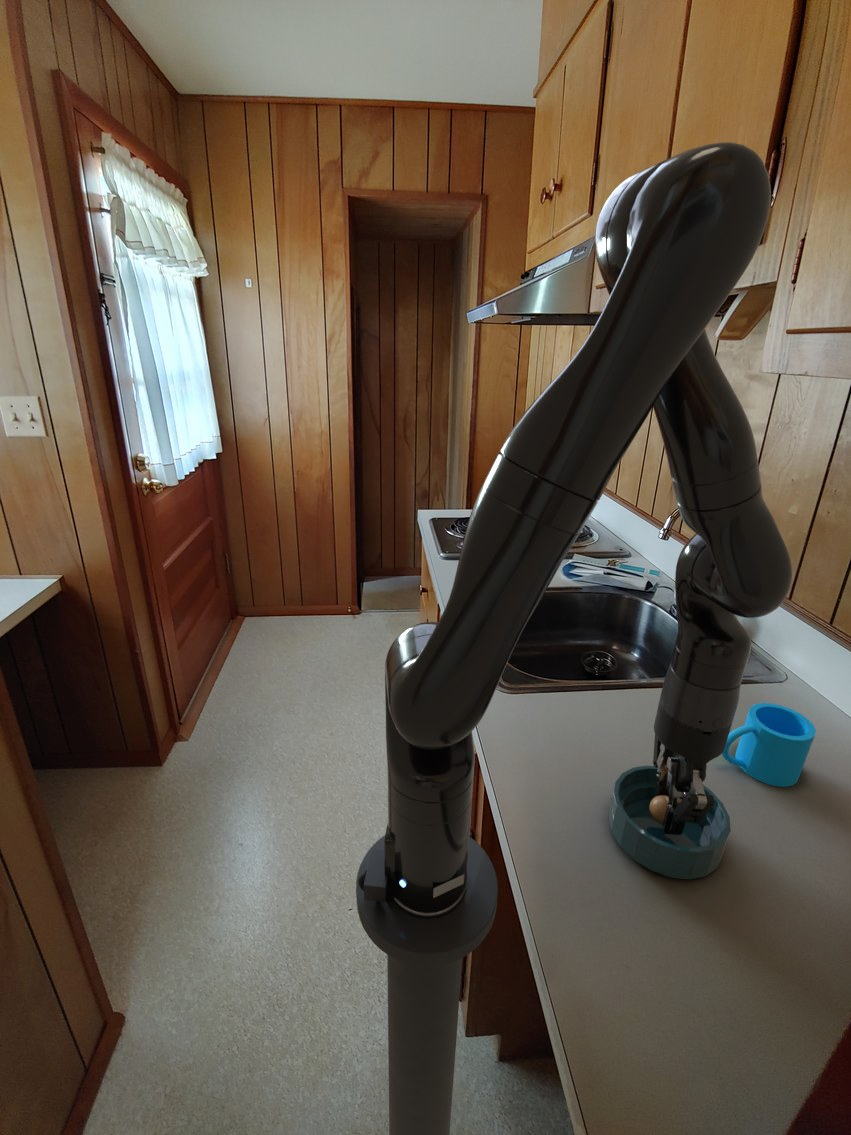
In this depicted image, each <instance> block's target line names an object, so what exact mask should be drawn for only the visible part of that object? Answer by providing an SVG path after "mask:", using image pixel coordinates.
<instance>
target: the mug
mask: <svg viewBox="0 0 851 1135" xmlns="http://www.w3.org/2000/svg"><path fill="white" fill-rule="evenodd" d="M816 733H817V730H816V728H815V725H814V724H813V723H812V721H811V720H810V719H808V718H807V717H806V716H804V715H803V714H802V713H800V712H798V711H796V710H794V709H792V708H790V707H787V706H783V705H780V704H776V703H771V702H760V703H755V704H753V705H752V706H750V708H749V710H748V712H747V716H746V719H745V722H744V725H743V726H739V727H737V728H735V729H733V730H732V731H730V732H729V736H728V739H727V742H726V746H725V749H724V751H723V753H722V754H721V755H722V757H723V759H724V760H726V761H727V762H728V763H730V764H732V765H735V766H738V767H739V768H741V770H743V772H745V773H746V774H747V775H749V776H750V777H751V778H753V779H755V780H757V781H759V782H761V783H764V784H766V785H770V786H772V787H773V786H774V787H780V788H781V787H784V788H787V787H791V786H794V785H796V784H797V783H798V781H799V779H800V776H801V774H802V771H803V769H804V766H805V762H806V760H807V757H808V755H809V753H810V750H811V746H812V744H813V741H814V739H815V736H816ZM737 739H739V742H738V745H737V748H736V752H735V754H734V756H735V757H733V756H731V754H730V752H729V749H730V747H731V745H732V744H733V742H735V741H736V740H737Z"/></svg>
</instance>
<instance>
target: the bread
mask: <svg viewBox="0 0 851 1135" xmlns="http://www.w3.org/2000/svg"><path fill="white" fill-rule="evenodd" d="M668 800H669V796H665V795H660V796H656V797H655V798H653V799H652V801H651V802H650V805H649V810H650V814H651V816H652V818H653V819H654V820H655V821H656V822H658V823H659V824H663V821H664V817H665V813H666V809H667V806H668ZM681 801H682V799H680V798H677V802H681ZM685 823H686V822H685Z"/></svg>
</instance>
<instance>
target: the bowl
mask: <svg viewBox="0 0 851 1135" xmlns="http://www.w3.org/2000/svg"><path fill="white" fill-rule="evenodd" d="M657 770H658V768H657V767H654V765H640V766H634V767H631V768H629V769H627V770H625V771H623V772H622V773H621V774H620V775H619V777H618V778H617V779H616V780H615V782H614V786H613V791H612V796H611V800H610V805H609V811H608V817H607V819H608V825H609V828H610V832H611V834H612V836H613V837H614V839H615V841H616V842H617V844H618V845H619V847H620V848H621V849H622V850H623V851H624V852H625V853H627V855H629V857H631V859H633V860H634V861H635V862H637V863H638V864H640V865H642V867H644V868H647V870H650V871H651V872H654V873H657V874H660V875H662V876H666V877H669V878H672V879H683V880H694V879H697V878H699V879H700V878H703V877H707V876H708V875H709V874H711V873H712V872H714V871H715V870H716V869H718V868H719V865H720V863H721V861H722V858H723V856H724V852H725V850H726V848H727V843H728V840H729V837H730V834H731V830H732V829H731V818H730V815H729V813H728V810H727V809H726V807H725V805H724V803H723V802H722V801H721V800H720V799H719V797H718V796H717V795H716V794H715V792H713V791H712V790H711V789H710V788H709V787H707V786H705V785H704V784H703V788H704V792H705V794H709V795H713V797H714V806H713V807H712V808H711V810H710V811H709V812H708V813H707V814H706V815H705V816H704V818H703V819H702V820H701V821H700V822H699V823H693V822H686V823H685V826H684V830H683V833H682V834H681V835H671V834H665V833H664V831H663V828H662V824H659V823H658V822H656V821H655V820H654V819H653V818H652V816H651V814H650V810H649V805H650V802H651V801H652V799H653V798H654V795H655V791H656V787H657V783H658V781H657V779H656V773H657ZM676 785H677V784H676ZM677 786H678V785H677ZM679 798H680V799H683V798H682V797H679Z"/></svg>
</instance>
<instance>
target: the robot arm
mask: <svg viewBox="0 0 851 1135" xmlns="http://www.w3.org/2000/svg"><path fill="white" fill-rule="evenodd" d="M771 188H772V187H771V181H770V176H769V172H768V169H767V168H766V165H765V163H764V161H763V159H762V158H761V157H760V155H759V154H758V153H757V152H756V151H755V150H754V149H751V148H750V147H748V146H746V145H744V144H741V143H737V142H729V141H726V142H715V143H707V144H704V145H700V146H697V147H694V148H690V149H687V150H685V151H682V152H680V153H677V154H676V155H674V156H671V157H669V158H666V159H664V160H662V161H659V162H657V163H655V164H653V165H651V166H648V167H646V168H644V169H642V170H640V171H637V172H635V173H634V174H632V175H630V176H629V177H627V178H626V179H624V180H623V181H622V182H621V183H620V184H619V185H618V186H617V187H615V189H614V190H613V191H612V192H611V194H610V195H609V197H608V198H607V199H606V201H605V203H604V205H603V206H602V209H601V211H600V213H599V216H598V220H597V223H596V227H595V235H594V251H595V252H594V253H595V258H596V263H597V266H598V270H599V273H600V276H601V278H602V281H603V283H604V286H605V289H606V291H607V293H608V296H609V297H608V299H607V301H606V303H605V304H604V307H603V309H602V311H601V313H600V316H599V317H598V318H597V321H596V323H595V324H594V325H593V328H592V330H591V331H590V333H589V335H588V336H587V338H586V340H585V341H584V342H583V344H582V346H581V347H580V348H579V350H578V351H576V353H575V355H574V356H573V357H572V358H571V360H570V361H569V362H568V363H567V364H566V366H565V367H564V368H563V369H562V370H561V371H560V372H559V374H557V376H556V377H555V378H554V379H553V380H552V381H551V382H550V383H549V384H548V385H547V387H545V389H544V390H543V391H542V392H541V393H540V394H539V396H538V397H537V398H536V399H535V400H534V401H533V402H532V404H530V405H529V407H528V408H527V409H526V410H525V411H524V413H523V414H522V415H521V417H520V418H519V419H518V420H517V421H516V423H515V424H514V425H513V427H512V428H511V429H510V432H509V433H508V434H507V436H506V437H505V440H504V441H503V443H502V445H501V446H500V448H499V451H498V452H497V455H496V457H495V459H494V461H493V463H492V464H491V467H490V469H489V470H488V473H487V474H486V477H485V478H484V481H483V483H482V485H481V487H480V489H479V491H478V494H477V496H476V499H475V501H474V503H473V506H472V510H471V512H470V515H469V518H468V522H467V525H466V529H465V533H464V536H463V541H462V545H461V549H460V555H459V558H458V562H457V567H456V572H455V575H454V581H453V585H452V588H451V591H450V593H449V594H450V595H449V598H448V600H447V603H446V605H445V608H444V610H443V612H442V614H441V616H440V618H439V620H438V622H437V621H425V622H419V623H417V624H414V625H412V626H410V627H408V628H406V629H405V630H403V631H402V632H400V634H399V635H397V637H396V638H395V639H394V640H393V642H392V644H391V645H390V647H389V649H388V651H387V654H386V658H385V662H384V663H385V665H384V695H385V696H384V698H385V700H384V701H385V703H384V704H385V745H386V768H387V769H386V770H387V824H386V829H385V833H384V835H385V838H384V850H376V849H372V850H371V855H370V859H369V864H368V868H367V871H365V873H363V874H362V875H361V876H360V877H359V880H358V883H359V886H360V888H361V889H362V890H363V891H364V900H369V901H378V902H386V901H391V902H394V903H395V904H396V905H397V906H398V907H399V908H400V909H401V910H402V911H404V912H405V913H407V914H409V915H411V916H414V917H417V918H422V919H433V918H438V917H442V916H444V915H447V914H448V913H450V912H451V911H453V910H454V909H455V908H456V907H457V906H458V905H459V904H460V902H461V901H462V899H463V897H464V895H465V892H466V886H467V861H468V847H469V837H470V831H471V830H470V828H471V818H472V802H473V789H474V788H473V787H474V775H475V758H476V756H475V755H476V753H475V745H474V736H473V731H474V730H475V729H476V728H477V727H478V725H479V724H480V723H481V721H482V720H483V718H484V716H485V715H486V712H487V710H488V708H489V706H490V704H491V702H492V699H493V697H494V695H495V692H496V690H497V688H498V685H499V683H500V681H501V678H502V676H503V674H504V672H505V669H506V667H507V665H508V662H509V661H510V658H511V656H512V653H513V652H514V649H515V647H516V645H517V643H518V641H519V639H520V637H521V635H522V633H523V631H524V629H525V627H526V626H527V624H528V622H529V621H530V619H531V617H532V615H533V614H534V612H535V610H536V609H537V607H538V606H539V604H540V602H541V600H542V599H543V597H544V595H545V593H546V591H547V589H548V588H549V586H550V584H551V582H552V581H553V579H554V578H555V576H556V573H557V572H558V570H559V568H560V566H561V564H562V563H563V561H564V559H565V558H566V556H567V554H568V553H569V551H570V550H571V548H572V547H573V545H574V544H575V542H576V540H578V538H579V536H580V534H581V533H582V531H583V529H584V527H585V526H586V524H587V522H588V520H589V519H590V517H591V516H592V514H593V513H594V510H595V508H596V506H598V501H600V500H601V498H602V496H603V494H604V492H605V490H606V489H607V486H608V485H609V483H610V481H611V479H612V477H613V475H614V473H615V471H616V470H617V468H618V466H619V465H620V463H621V461H622V459H623V458H624V457H625V454H626V452H627V451H628V450H629V448H630V446H631V444H632V443H633V441H634V440H635V438H636V436H637V434H638V433H639V431H640V429H641V428H642V426H643V425H644V423H645V421H646V420H647V418H648V416H649V414H650V412H652V410H653V411H654V415H655V418H656V421H657V424H658V429H659V432H660V436H661V439H662V444H663V447H664V451H665V455H666V459H667V460H666V461H667V464H668V469H669V474H670V479H671V482H672V483H671V484H672V488H673V493H674V495H675V500H676V501H675V502H676V505H677V509H678V512H679V516H680V518H681V519H682V521H683V522H684V524H685V525H686V526H687V527H688V528H689V529H690V530H691V531H693V532H694V534H693V535H692V536H691V537H690V538H689V539H688V540H687V541H686V543H685V544H684V546H683V547H682V549H681V551H680V553H679V556H678V558H677V562H676V564H675V565H676V566H675V574H674V588H675V589H674V592H675V607H676V610H675V613H676V620H677V634H676V638H675V642H674V647H673V651H672V656H671V658H670V664H669V667H668V669H667V671H666V674H665V675H664V676H665V677H664V680H663V683H662V687H661V693H660V697H659V700H658V705H657V710H656V714H655V719H654V722H653V731H654V742H653V756H652V757H653V758H652V766H654V767H657V768H658V770H657V773H656V779H657V781H658V783H657V787H656V791H655V795H654V798H655V797H656V796H660V795H665V796H669V800H668V806H667V809H666V813H665V817H664V821H663V824H662V828H663V831H664V833H665V834H671V835H681V834H682V833H683V830H684V826H685V822H693V823H699V822H700V821H701V820H702V819H703V818H704V816H705V815H706V814H707V813H708V812H709V811H710V810H711V808H712V807H713V806H714V797H713V795H709V794H705V792H704V788H703V785H704V784H703V782H704V781H705V780H706V777H707V767H708V766H707V764H708V763H710V762H711V761H713V760H714V759H716V758H718V757H719V756H721V755H722V753H723V751H724V749H725V746H726V742H727V739H728V736H729V733H730V732H731V728H732V726H733V723H734V719H735V714H736V711H737V708H738V704H739V702H740V695H741V694H740V693H741V685H742V681H743V678H744V675H745V671H746V668H747V664H748V661H749V658H750V654H751V650H752V649H751V648H752V639H751V635H750V633H749V632H748V630H747V629H746V628H745V627H744V626H743V624H742V623H741V622H740V620H738V618H737V617H736V616H738V617H741V618H745V619H756V618H761V617H765V616H767V615H770V614H771V613H773V612H775V611H776V610H777V609H778V608H779V607H781V605H782V604H783V603H784V601H785V600H786V598H787V597H788V595H789V592H790V590H791V586H792V581H793V566H792V565H793V564H792V559H791V556H790V553H789V551H788V548H787V545H786V543H785V540H784V538H783V536H782V534H781V532H780V529H779V527H778V525H777V522H776V521H775V518H774V517H773V515H772V512H771V511H770V509H769V507H768V505H767V504H766V501H765V499H764V497H763V489H762V488H763V487H762V480H761V473H760V466H759V459H758V458H759V457H758V451H757V446H756V441H755V435H754V433H753V429H752V427H751V424H750V421H749V418H748V416H747V414H746V412H745V410H744V408H743V405H742V403H741V401H740V399H739V397H738V396H737V394H736V392H735V390H734V389H733V387H732V385H731V383H730V381H729V379H728V377H727V376H726V374H725V372H724V371H723V369H722V367H721V365H720V362H719V360H718V359H717V356H716V354H715V352H714V350H713V348H712V345H711V342H710V339H709V337H708V334H707V330H706V328H707V327H708V325H709V324H710V322H711V321H712V320H713V318H714V317H715V315H716V314H717V312H718V311H719V310H720V309H721V307H722V306H723V304H724V303H725V302H726V300H727V299H728V297H729V296H730V294H731V293H732V291H733V290H734V288H736V285H737V284H738V283H739V281H740V280H741V278H742V277H743V275H744V273H745V272H746V270H747V269H748V267H749V265H750V263H751V262H752V260H753V259H754V256H755V254H756V252H757V251H758V248H759V246H760V244H761V241H762V238H763V235H764V233H765V230H766V227H767V224H768V219H769V215H770V210H771V200H772V199H771V198H772V189H771ZM676 784H677V785H678V786H677V785H676ZM679 797H682V798H683V799H682V801H681V802H677V798H679Z"/></svg>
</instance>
